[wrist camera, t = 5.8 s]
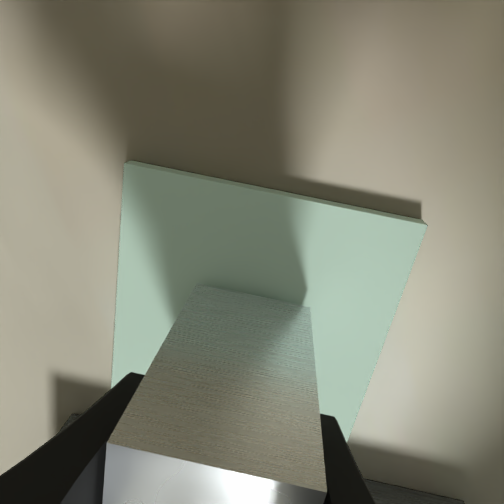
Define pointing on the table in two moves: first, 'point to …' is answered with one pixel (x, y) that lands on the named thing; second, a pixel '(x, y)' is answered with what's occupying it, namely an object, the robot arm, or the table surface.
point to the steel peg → (224, 410)
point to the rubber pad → (261, 269)
